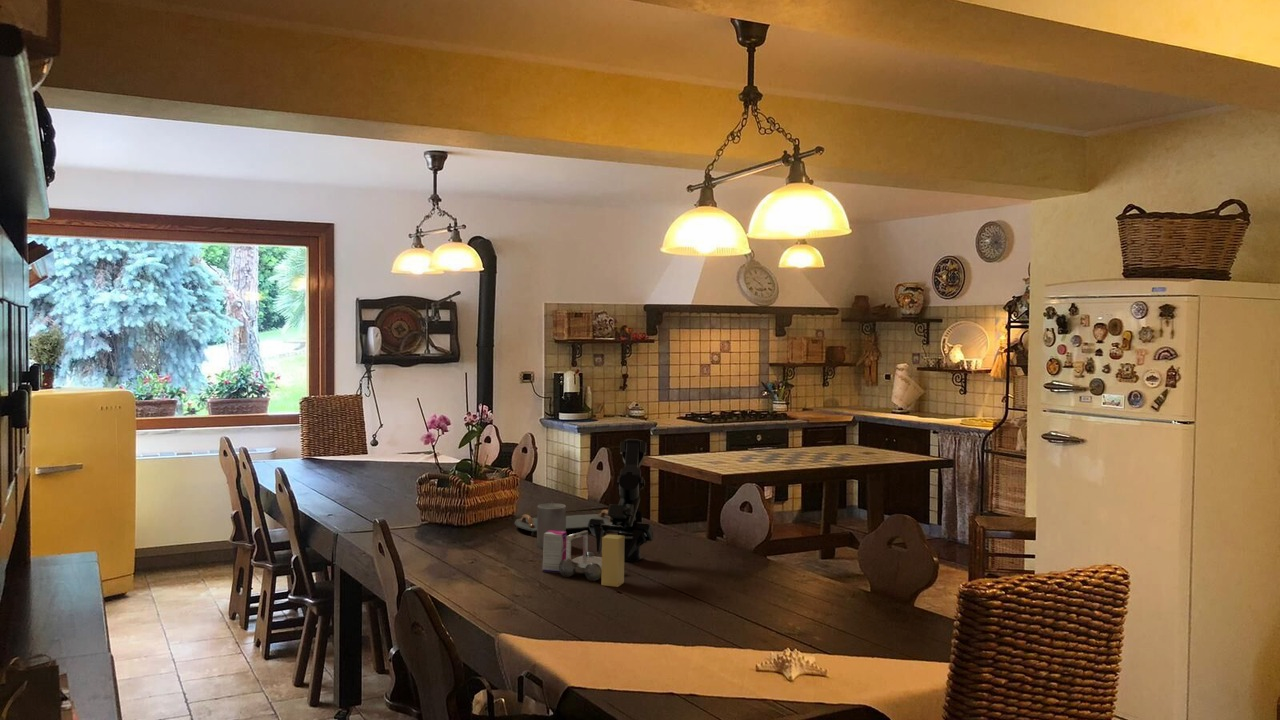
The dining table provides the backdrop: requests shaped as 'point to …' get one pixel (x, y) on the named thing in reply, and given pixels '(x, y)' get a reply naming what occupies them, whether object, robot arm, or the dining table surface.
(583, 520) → the serving board
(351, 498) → the dining table surface
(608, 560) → the tall yellow block
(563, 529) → the pillar candle
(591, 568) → the trolley
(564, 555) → the supplement box
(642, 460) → the robot arm
